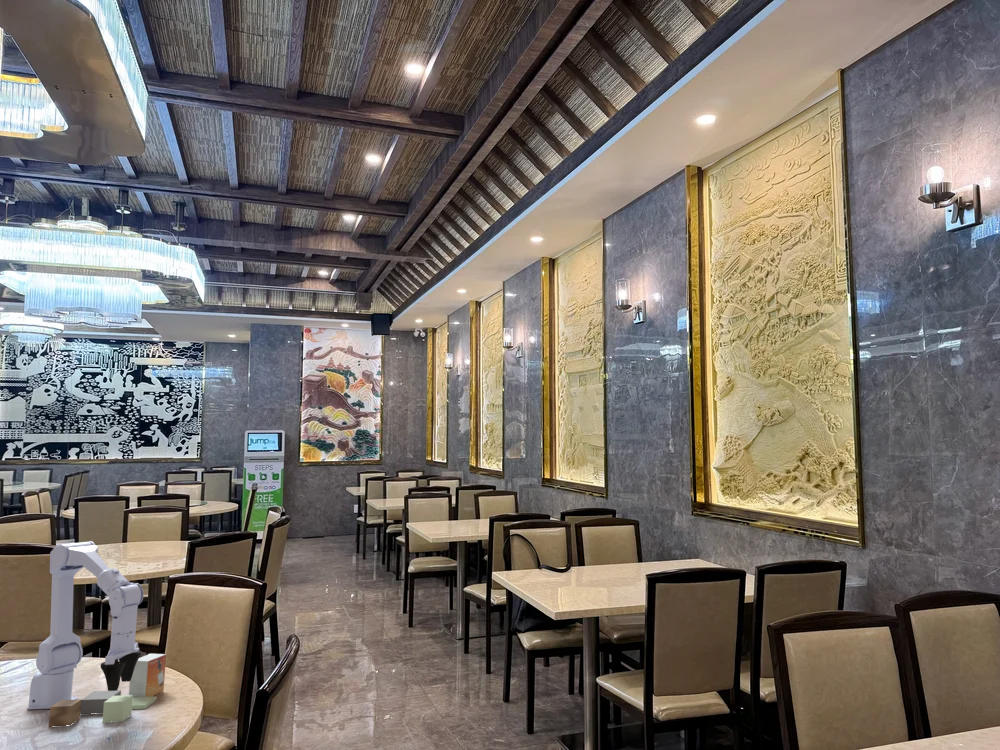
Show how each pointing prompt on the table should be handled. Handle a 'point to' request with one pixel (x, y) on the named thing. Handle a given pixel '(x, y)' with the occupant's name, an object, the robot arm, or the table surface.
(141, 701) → the sage green tile
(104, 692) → the charcoal base block
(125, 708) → the sage green block
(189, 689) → the table surface
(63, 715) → the walnut block
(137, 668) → the small box
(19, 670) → the table surface
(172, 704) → the table surface
